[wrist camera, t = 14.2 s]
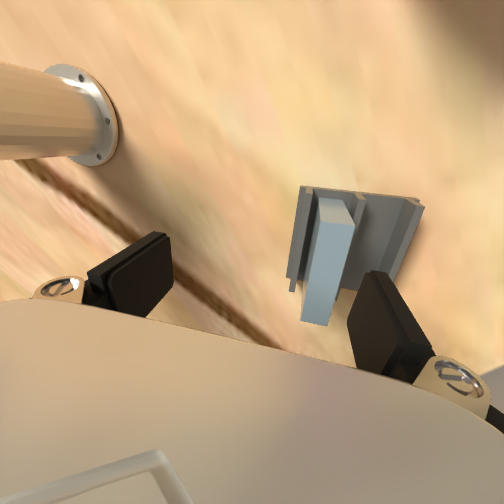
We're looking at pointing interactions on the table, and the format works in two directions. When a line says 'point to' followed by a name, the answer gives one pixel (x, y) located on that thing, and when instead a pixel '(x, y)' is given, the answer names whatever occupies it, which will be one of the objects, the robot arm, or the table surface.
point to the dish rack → (358, 233)
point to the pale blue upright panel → (325, 259)
